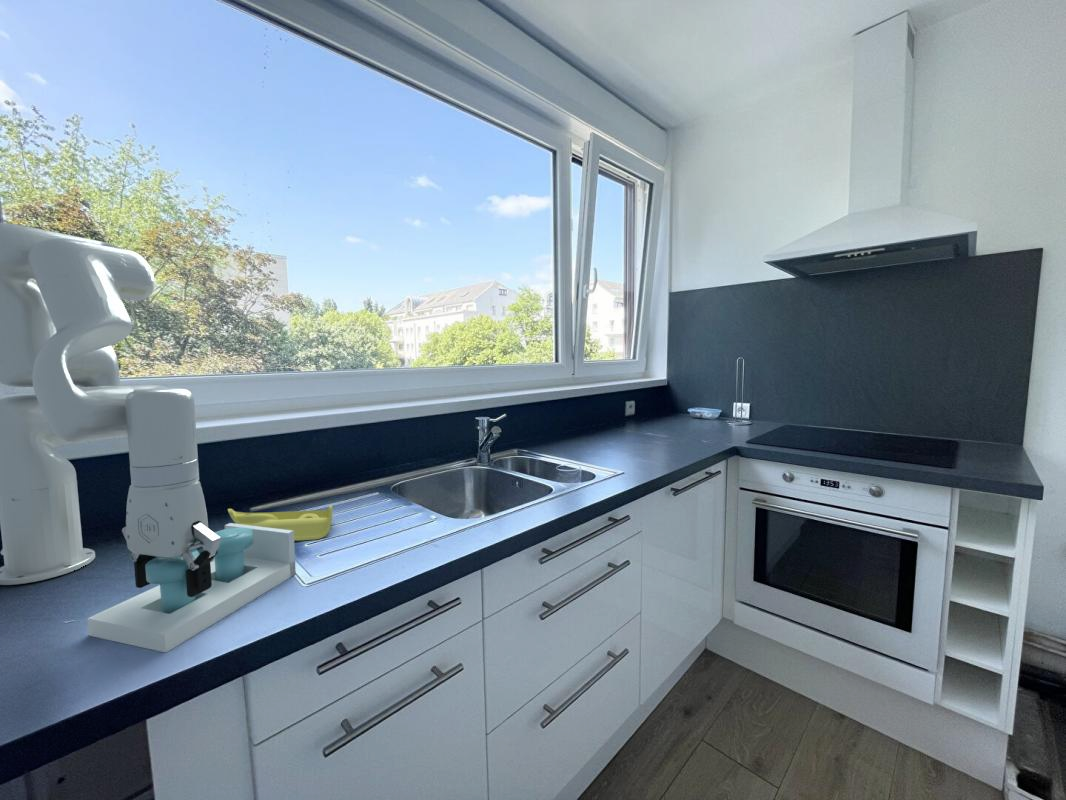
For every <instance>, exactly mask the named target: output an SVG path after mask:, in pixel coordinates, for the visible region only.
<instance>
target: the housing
mask: <svg viewBox="0 0 1066 800" xmlns="http://www.w3.org/2000/svg"><path fill="white" fill-rule="evenodd" d="M240 527H243V528H250V529H252V534H253V544H252V545H251V546H250V547H248V548H246V549H244V568H245V574H244V575H242V576H240V577H239V578H237V579H235V580H233V581H231V582H229V583H226V582H220V581H216V573H215V559H214V560H213V562H211V563H210V565H211V581H212V586H211V587H210V588H209V589H207V590H205V591H203V592H201V593H199V594H198V595H196V600H195V601H193V602H191V603H189V604H188V605H186V606H184V607H182V608H180V609H178V610H176V611H174V612H172V613H171V614H167V613H162V607H161V594H160V584H158V585H157V586H155V587H152V588H151V589H148V590H146V591H144V592H142V593H140V594H137V595H135V596H133V597H131V598H128V599H126V600H124V601H122V602H120V603H118V604H116V605H114V606H111V607H108V608H107V609H105V610H102V611H100V612H98V613H95V614H93V615H92V616H90V617H88V618H86V620H87V630H88V631H87V632H88V636H90V637H94V638H98V639H102V640H107V641H112V642H116V643H121V644H124V645H125V644H126V645H131V646H134V647H139V648H143V649H149V650H153V651H156V652H160V653H165V654H166V653H168V652H170V651H172V650H173V649H175V648H176V647H178V646H180V645H181V644H182V643H185V642H187V641H188V640H189V639H192V638H193V637H195V636H196V635H198V634H199V633H201V632H202V631H204V630H206V629H208V628H209V627H211V626H213V625H214V624H216V623H218V622H219V621H221V620H222V619H224V618H226V617H227V616H229V615H231V614H232V613H234V612H236V611H237V610H239V609H241V608H242V607H244V606H246V605H247V604H248V603H250V602H252V601H254V600H255V599H257V598H259V597H260V596H262V595H263V594H265V593H267V592H269V591H270V590H273V588H276V587H278V585H280V584H282V583H283V582H286V581H287V580H288V579H290V578H292V577H293V576H295V575H296V571H297V570H296V550H295V541H294V531H293V530H284V529H276V528H268V527H259V526H251V525H243V524H236V523H235V522H234V523H233V522H229V523H226V524H224V529H230V528H240Z"/></svg>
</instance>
